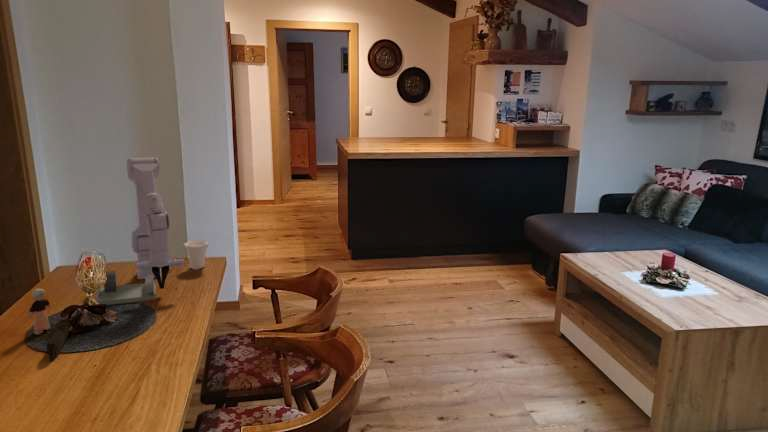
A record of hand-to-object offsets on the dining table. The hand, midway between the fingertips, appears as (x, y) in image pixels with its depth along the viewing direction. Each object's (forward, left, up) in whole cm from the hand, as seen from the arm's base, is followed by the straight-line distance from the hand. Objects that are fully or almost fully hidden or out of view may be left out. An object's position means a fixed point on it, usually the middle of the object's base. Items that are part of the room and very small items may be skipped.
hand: (161, 287), depth 186 cm
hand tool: (+30, -26, -3) cm, 40 cm away
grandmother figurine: (+18, -32, -3) cm, 37 cm away
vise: (-3, -12, -3) cm, 13 cm away
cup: (-26, +13, -3) cm, 29 cm away
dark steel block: (-6, -16, -1) cm, 17 cm away
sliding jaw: (-3, -4, -1) cm, 5 cm away
